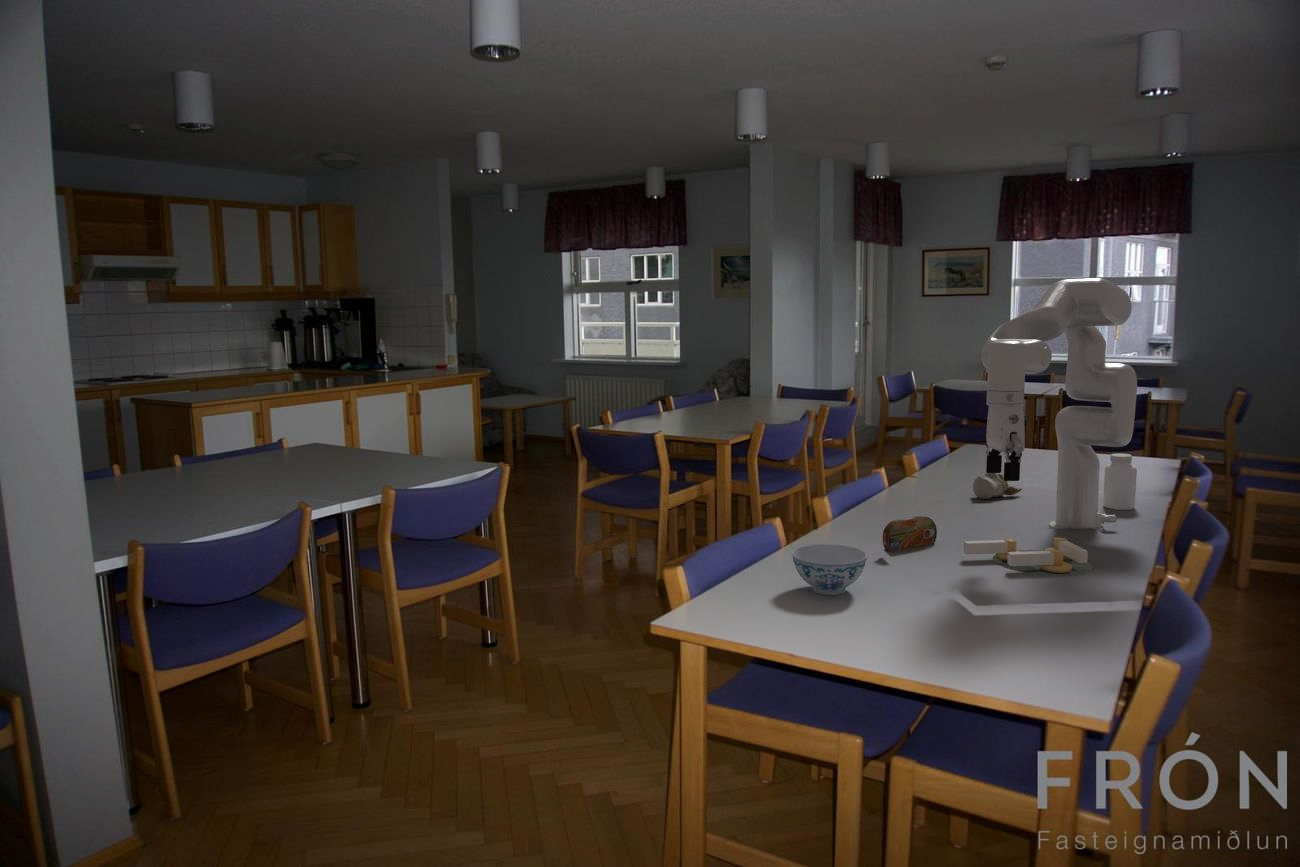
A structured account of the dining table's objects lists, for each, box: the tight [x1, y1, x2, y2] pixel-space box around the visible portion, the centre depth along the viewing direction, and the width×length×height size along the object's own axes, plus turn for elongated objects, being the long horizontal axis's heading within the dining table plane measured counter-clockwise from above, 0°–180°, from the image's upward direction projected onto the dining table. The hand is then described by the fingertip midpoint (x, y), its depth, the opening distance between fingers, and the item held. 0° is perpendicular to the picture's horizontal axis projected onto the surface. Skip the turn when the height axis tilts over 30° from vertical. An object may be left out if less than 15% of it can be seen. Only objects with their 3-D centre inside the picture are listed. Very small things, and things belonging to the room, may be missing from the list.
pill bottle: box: [1102, 452, 1138, 511], centre depth 250 cm, size 8×8×15 cm
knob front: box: [1008, 550, 1072, 573], centre depth 188 cm, size 13×6×4 cm, turn 92°
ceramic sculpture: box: [972, 472, 1023, 500], centre depth 269 cm, size 11×9×15 cm
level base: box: [992, 549, 1093, 576], centre depth 195 cm, size 20×20×3 cm
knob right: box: [1044, 536, 1089, 563], centre depth 195 cm, size 13×6×4 cm, turn 2°
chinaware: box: [791, 543, 868, 596], centre depth 183 cm, size 15×15×8 cm
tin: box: [882, 515, 938, 553], centre depth 210 cm, size 15×3×8 cm, turn 117°
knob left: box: [963, 538, 1021, 561], centre depth 198 cm, size 13×6×4 cm, turn 92°
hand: (1002, 476), depth 195 cm, fingers open, 9 cm apart
